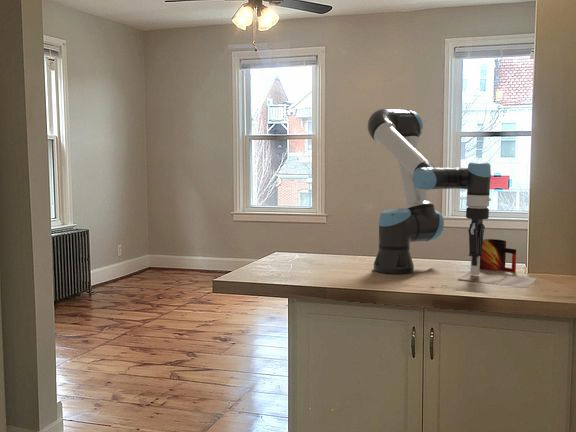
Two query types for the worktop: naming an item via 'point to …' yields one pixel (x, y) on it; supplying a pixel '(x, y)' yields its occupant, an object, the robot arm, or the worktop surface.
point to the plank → (482, 278)
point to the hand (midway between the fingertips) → (474, 274)
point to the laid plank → (516, 281)
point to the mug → (496, 255)
